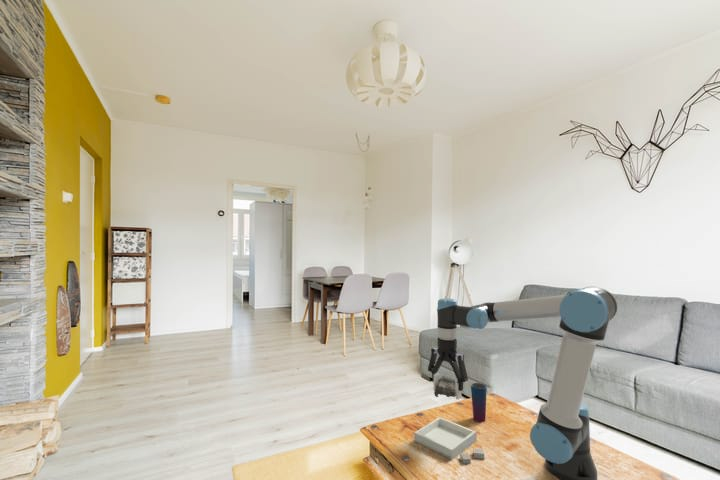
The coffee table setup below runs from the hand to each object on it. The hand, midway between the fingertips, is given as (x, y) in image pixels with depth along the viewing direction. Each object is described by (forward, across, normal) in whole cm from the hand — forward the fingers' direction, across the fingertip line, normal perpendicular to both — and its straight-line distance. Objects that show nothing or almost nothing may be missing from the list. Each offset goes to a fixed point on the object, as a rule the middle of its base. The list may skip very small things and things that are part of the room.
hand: (447, 394), depth 136 cm
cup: (+18, 0, -25) cm, 31 cm away
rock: (+1, +1, 0) cm, 2 cm away
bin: (+18, 0, +1) cm, 18 cm away
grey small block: (+18, -14, +1) cm, 23 cm away
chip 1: (+18, -12, +7) cm, 23 cm away
